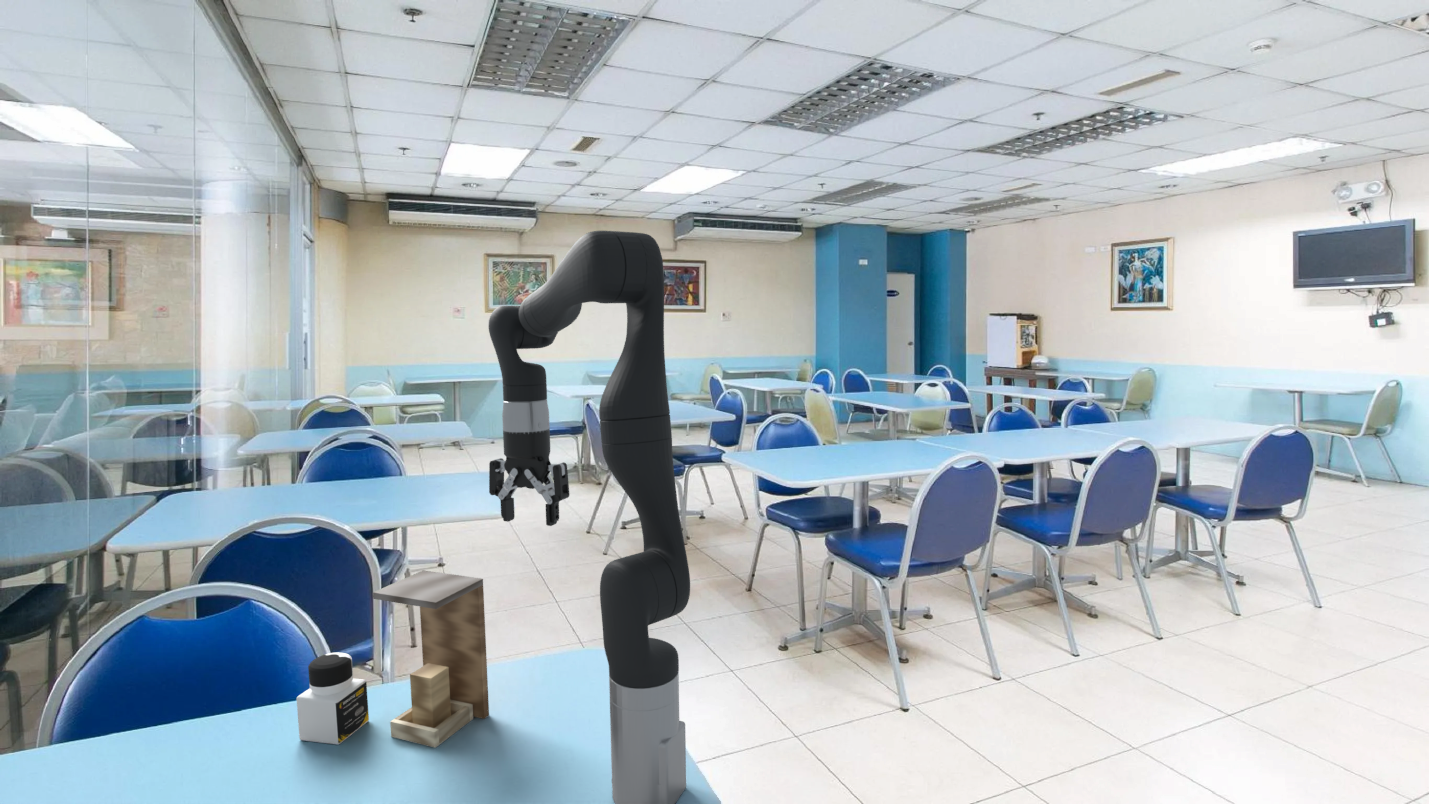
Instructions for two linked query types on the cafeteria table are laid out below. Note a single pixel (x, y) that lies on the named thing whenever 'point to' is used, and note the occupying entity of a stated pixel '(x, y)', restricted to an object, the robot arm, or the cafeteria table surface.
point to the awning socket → (446, 647)
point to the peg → (430, 695)
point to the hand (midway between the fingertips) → (530, 522)
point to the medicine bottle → (332, 701)
